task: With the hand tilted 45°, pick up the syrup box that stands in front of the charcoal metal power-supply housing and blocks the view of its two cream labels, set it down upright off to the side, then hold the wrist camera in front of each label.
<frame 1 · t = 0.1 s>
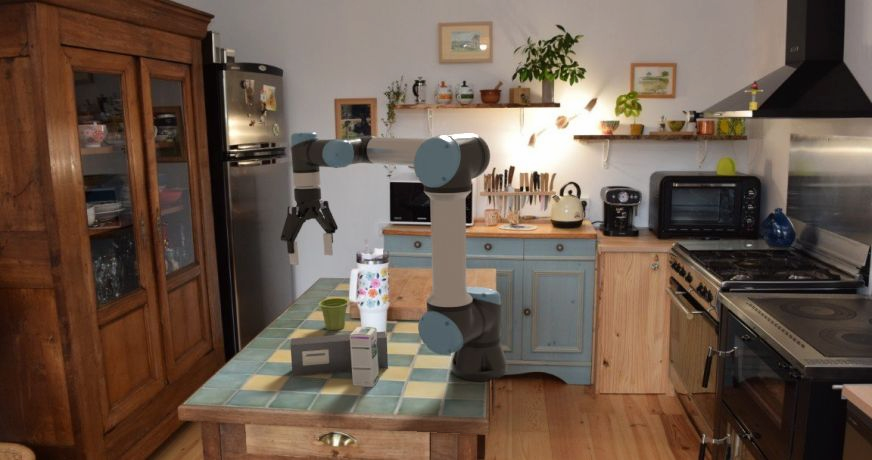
hand: (311, 259, 198), 28 cm above the table, tool pointing down, fingers open, 13 cm apart
plant pot: (335, 328, 223), on the table
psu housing: (340, 368, 189), on the table
syrup box: (365, 383, 180), on the table
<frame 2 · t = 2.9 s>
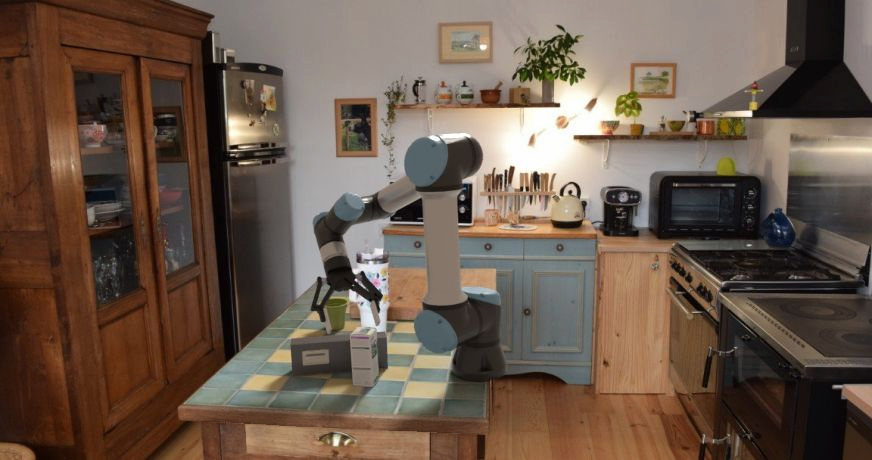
hand: (354, 327, 183), 13 cm above the table, tool tilted 45°, fingers open, 13 cm apart
nothing on the table moved.
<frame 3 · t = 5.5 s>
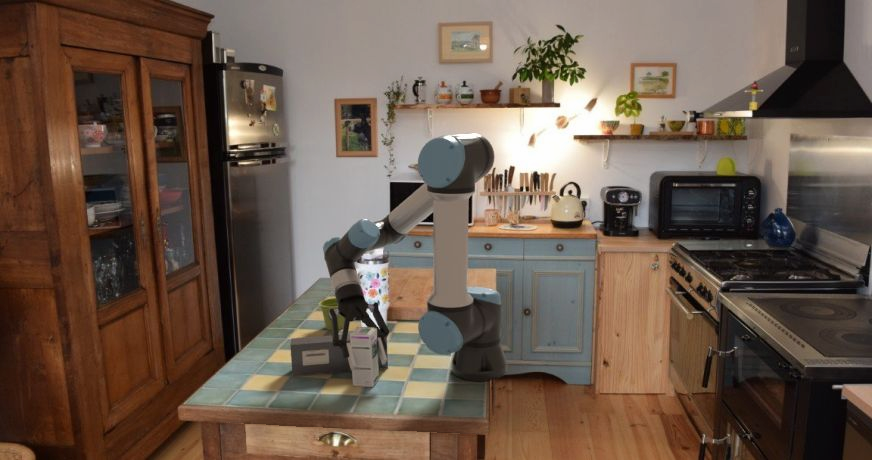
hand: (369, 365, 176), 6 cm above the table, tool tilted 45°, fingers closed on syrup box, 8 cm apart
syrup box: (365, 383, 180), on the table, touching gripper
everything else where it was.
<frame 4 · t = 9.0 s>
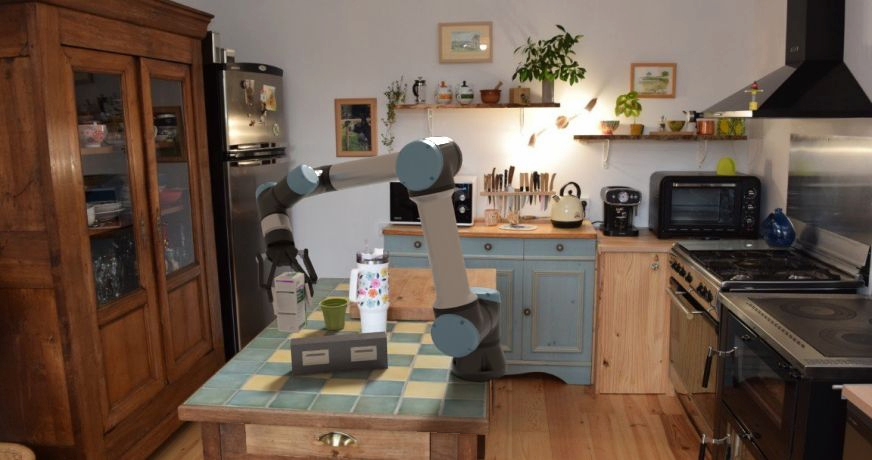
hand: (293, 310, 171), 22 cm above the table, tool tilted 45°, fingers closed on syrup box, 8 cm apart
syrup box: (292, 329, 175), point 16 cm above the table, touching gripper
everything else where it was.
when the fingers open (8 cm above the table, at t = 12.5 s): syrup box drops 1 cm, on the table.
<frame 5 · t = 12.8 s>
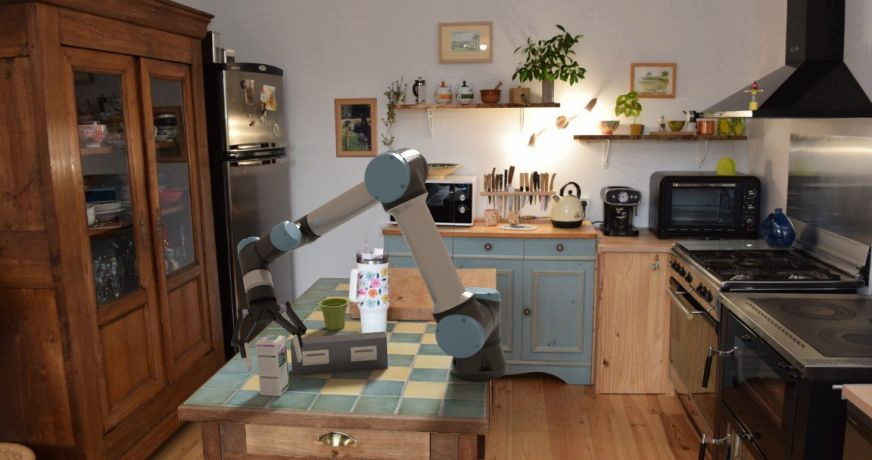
hand: (275, 364, 172), 8 cm above the table, tool tilted 45°, fingers open, 12 cm apart
syrup box: (274, 392, 176), on the table
everything else where it was.
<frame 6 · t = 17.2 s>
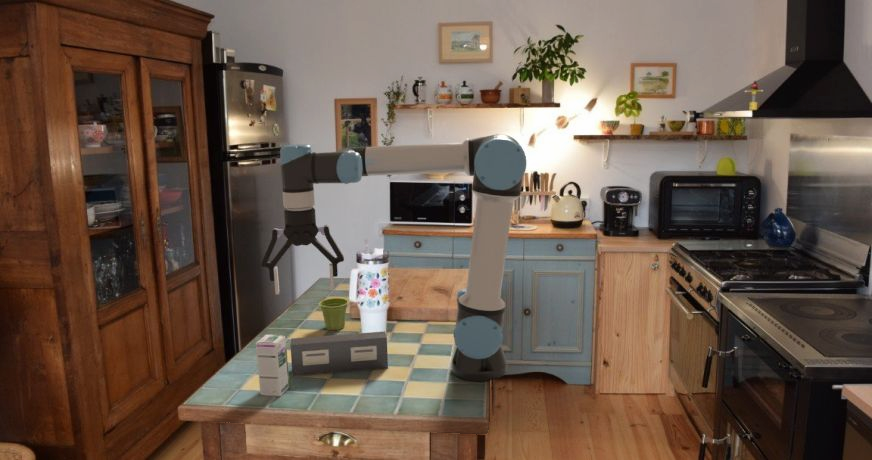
hand: (305, 291, 171), 26 cm above the table, tool pointing down, fingers open, 13 cm apart
nothing on the table moved.
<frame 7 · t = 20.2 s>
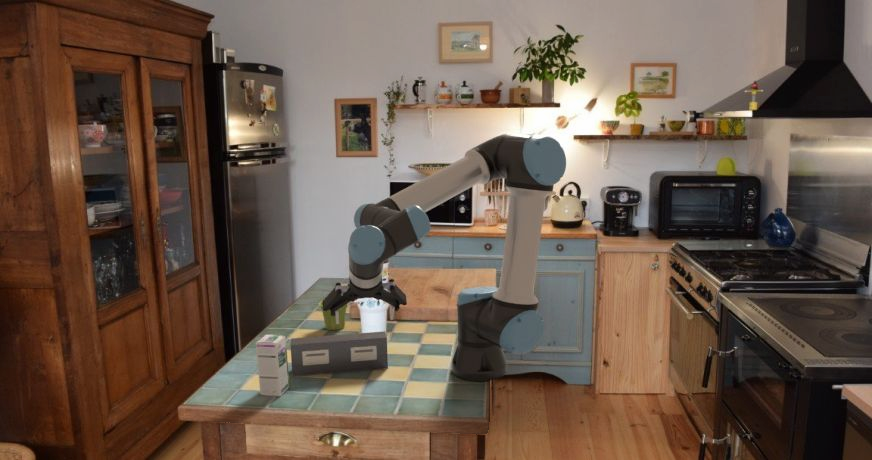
hand: (364, 317, 172), 20 cm above the table, tool tilted 45°, fingers open, 13 cm apart
nothing on the table moved.
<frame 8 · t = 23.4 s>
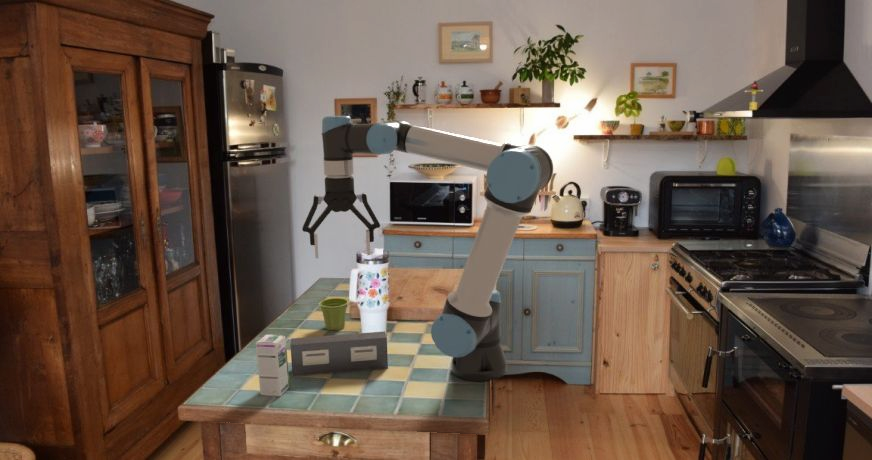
hand: (342, 255, 181), 33 cm above the table, tool pointing down, fingers open, 13 cm apart
nothing on the table moved.
at the end: syrup box inside the target area (0.1 cm from its centre), on the table; syrup box tilted 0°; the gripper is holding nothing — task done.
